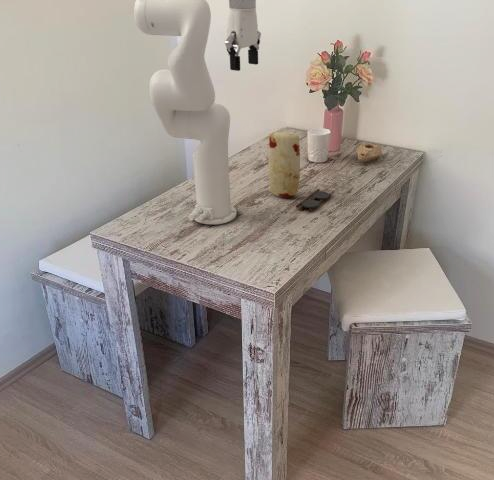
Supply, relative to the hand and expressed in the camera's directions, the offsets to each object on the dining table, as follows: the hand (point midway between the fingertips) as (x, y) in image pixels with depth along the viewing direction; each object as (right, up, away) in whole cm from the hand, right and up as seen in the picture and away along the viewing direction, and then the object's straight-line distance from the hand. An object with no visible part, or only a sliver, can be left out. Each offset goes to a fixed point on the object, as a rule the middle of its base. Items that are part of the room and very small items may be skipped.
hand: (244, 67), depth 172 cm
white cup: (+24, -21, +31) cm, 45 cm away
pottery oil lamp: (+41, -22, +29) cm, 55 cm away
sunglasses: (+21, -40, 0) cm, 46 cm away
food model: (+12, -38, +4) cm, 40 cm away
